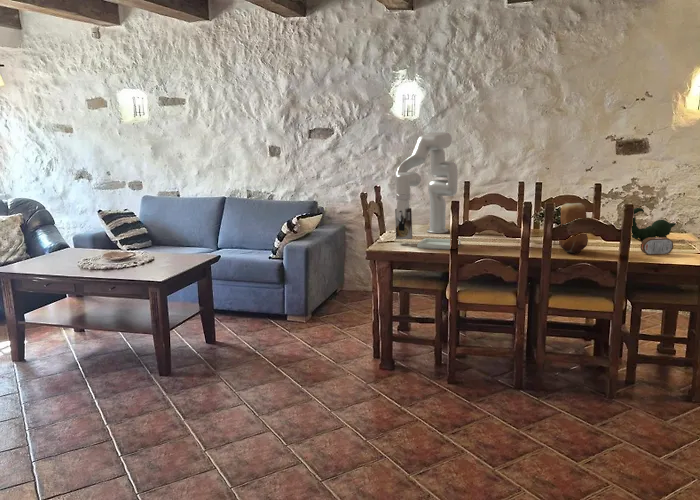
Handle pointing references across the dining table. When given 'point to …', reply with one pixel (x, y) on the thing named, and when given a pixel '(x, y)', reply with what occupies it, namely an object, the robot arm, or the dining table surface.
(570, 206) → the butternut squash
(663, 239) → the tin
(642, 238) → the toy figurine
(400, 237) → the coffee box
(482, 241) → the dining table surface
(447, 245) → the tray
